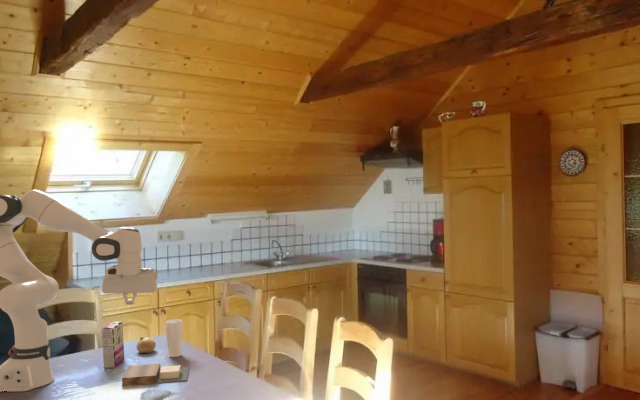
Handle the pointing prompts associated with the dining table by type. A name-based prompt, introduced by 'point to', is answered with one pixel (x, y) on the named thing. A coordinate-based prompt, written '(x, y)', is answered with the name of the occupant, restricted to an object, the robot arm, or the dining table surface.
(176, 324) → the white tapered cup
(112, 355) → the candy bar box
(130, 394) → the dining table surface
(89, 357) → the dining table surface
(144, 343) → the onion
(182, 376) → the mat
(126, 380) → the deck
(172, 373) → the tile
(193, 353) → the dining table surface
